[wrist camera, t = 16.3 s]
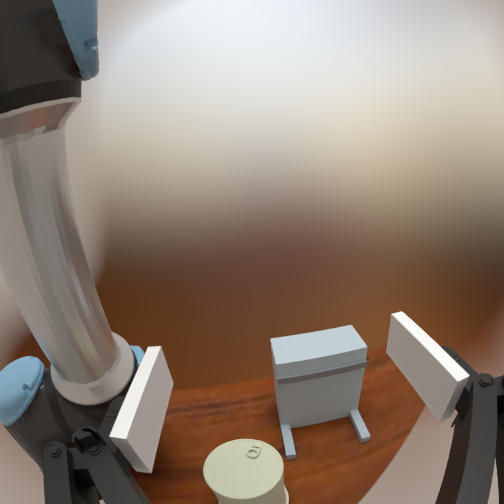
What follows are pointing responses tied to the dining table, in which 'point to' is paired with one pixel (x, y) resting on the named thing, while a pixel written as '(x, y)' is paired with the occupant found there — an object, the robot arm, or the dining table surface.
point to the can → (246, 473)
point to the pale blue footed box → (318, 380)
